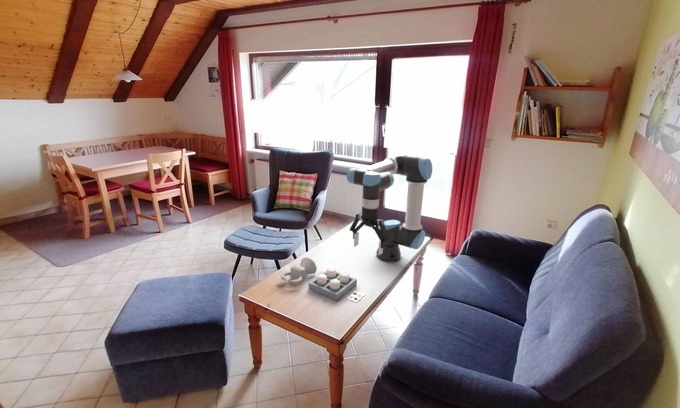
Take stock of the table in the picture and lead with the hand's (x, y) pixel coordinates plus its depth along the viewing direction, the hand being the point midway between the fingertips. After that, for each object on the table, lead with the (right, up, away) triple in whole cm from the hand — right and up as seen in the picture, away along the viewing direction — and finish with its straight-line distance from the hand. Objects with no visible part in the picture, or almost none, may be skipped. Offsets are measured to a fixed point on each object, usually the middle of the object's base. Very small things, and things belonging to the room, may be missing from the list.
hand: (367, 249), depth 159 cm
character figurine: (-35, -20, +27) cm, 49 cm away
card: (-5, -25, +11) cm, 28 cm away
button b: (-23, -20, +17) cm, 34 cm away
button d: (-18, -18, +23) cm, 34 cm away
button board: (-17, -22, +19) cm, 34 cm away
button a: (-16, -21, +12) cm, 29 cm away
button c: (-11, -19, +19) cm, 29 cm away
